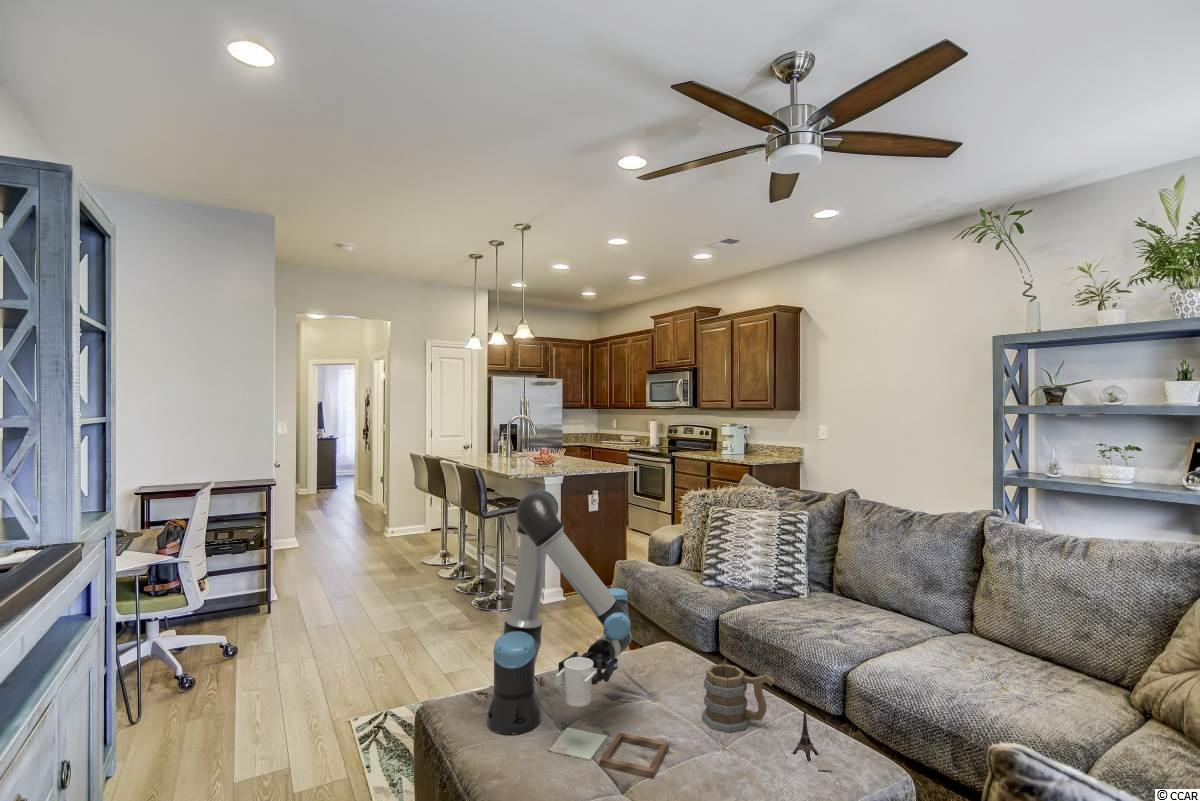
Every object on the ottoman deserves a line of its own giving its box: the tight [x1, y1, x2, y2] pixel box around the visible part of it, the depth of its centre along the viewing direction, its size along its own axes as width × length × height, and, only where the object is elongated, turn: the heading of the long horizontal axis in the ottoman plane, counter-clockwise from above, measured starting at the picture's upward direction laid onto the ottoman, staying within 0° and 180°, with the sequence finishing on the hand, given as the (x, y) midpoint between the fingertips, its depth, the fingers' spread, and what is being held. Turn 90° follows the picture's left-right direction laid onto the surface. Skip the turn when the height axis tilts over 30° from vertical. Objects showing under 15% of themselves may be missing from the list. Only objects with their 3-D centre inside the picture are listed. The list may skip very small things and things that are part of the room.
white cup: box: [564, 657, 594, 708], centre depth 156 cm, size 8×8×10 cm
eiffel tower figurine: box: [791, 707, 832, 773], centre depth 151 cm, size 15×10×13 cm
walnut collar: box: [598, 731, 670, 779], centre depth 149 cm, size 14×14×2 cm
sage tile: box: [556, 727, 608, 762], centre depth 155 cm, size 12×12×1 cm
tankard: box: [701, 663, 775, 733], centre depth 166 cm, size 20×13×15 cm, turn 62°
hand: (570, 683), depth 151 cm, fingers closed on white cup, 7 cm apart
